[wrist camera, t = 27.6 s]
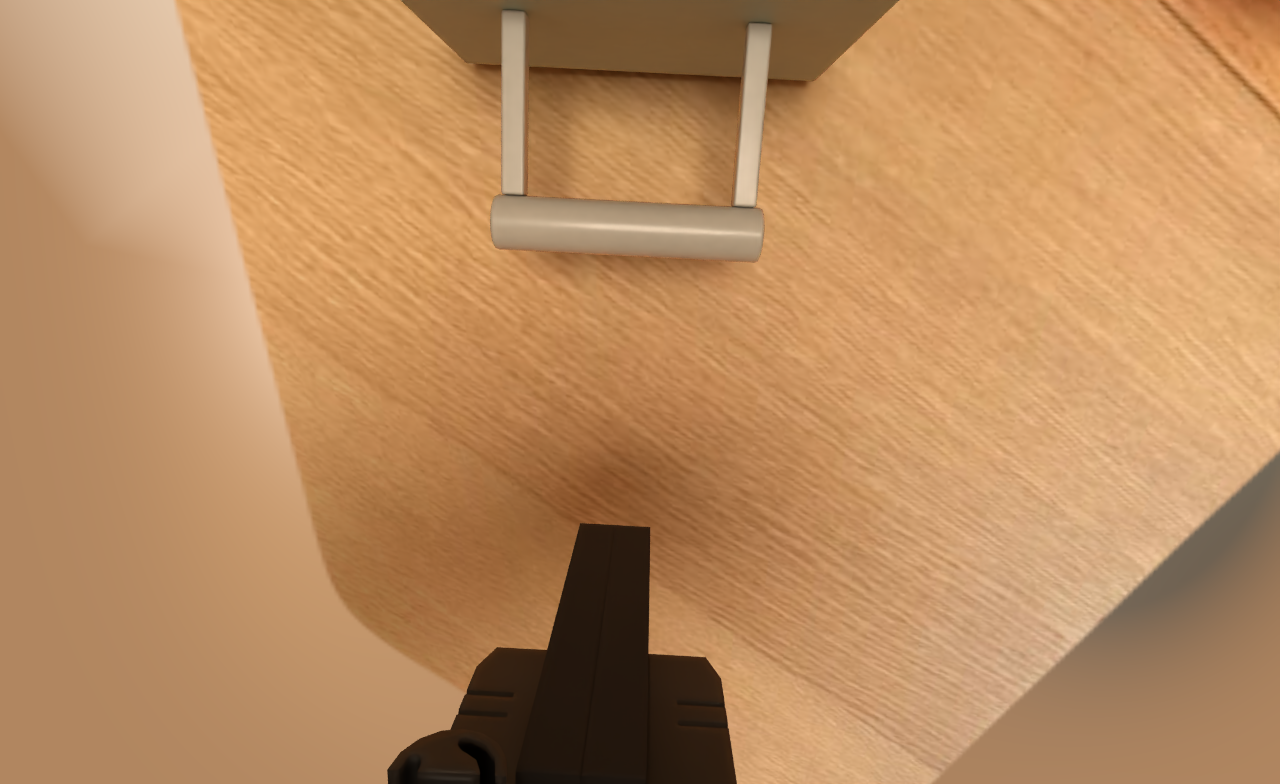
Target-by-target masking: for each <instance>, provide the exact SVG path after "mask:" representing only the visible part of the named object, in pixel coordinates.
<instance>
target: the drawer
mask: <svg viewBox="0 0 1280 784" xmlns="http://www.w3.org/2000/svg"><path fill="white" fill-rule="evenodd" d="M401 1H402V2H403V3H404V4H405V5H406V6H407V7H408V8H409V9H410V10H411V11H413V12H414V13H415V14H416V15H417V16H418V17H419V18H420V19H421V20H422V21H423V22H424V23H425V24H426V25H427V26H428V27H429V28H430V29H431V30H432V31H434V32H435V33H436V34H437V35H438V36H439V37H440V38H441V39H442V40H443V41H444V42H445V43H446V44H447V45H448V46H449V47H450V48H451V49H452V50H453V51H454V52H456V53H457V54H458V55H459V56H460V57H461V58H462V59H463V60H464V61H465V62H466V63H474V64H493V65H501V192H502V194H505V195H496V196H495V197H494V199H493V202H492V206H491V214H490V229H491V236H492V241H493V244H494V246H495V247H496V248H498V249H505V250H524V251H543V252H562V253H581V254H600V255H619V256H638V257H658V258H677V259H696V260H715V261H734V262H753V263H754V262H757V261H758V259H759V257H760V255H761V251H762V246H763V239H764V214H763V210H762V209H760V208H753V207H756V205H757V193H758V182H759V171H760V160H761V149H762V138H763V127H764V116H765V104H766V93H767V82H768V79H783V80H802V81H814V80H816V79H817V78H818V77H819V76H820V75H821V74H822V73H823V72H824V71H825V70H826V69H827V68H828V67H829V66H831V65H832V64H833V63H834V62H835V61H836V60H837V59H838V58H839V57H840V56H841V55H842V54H843V53H844V52H845V51H846V50H847V49H848V48H849V47H850V46H852V45H853V44H854V43H855V42H856V41H857V40H858V39H859V38H860V37H861V36H862V35H863V34H864V33H865V32H866V31H867V30H868V29H869V28H870V27H872V26H873V25H874V24H875V23H876V22H877V21H878V20H879V19H880V18H881V17H882V16H883V15H884V14H885V13H886V12H887V11H888V10H889V9H890V8H891V7H893V6H894V5H895V4H896V3H897V2H898V1H899V0H401ZM529 66H532V67H551V68H571V69H590V70H609V71H629V72H648V73H667V74H687V75H706V76H725V77H741V88H740V101H739V113H738V125H737V138H736V150H735V162H734V175H733V187H732V200H731V205H732V207H728V206H709V205H690V204H670V203H651V202H632V201H613V200H594V199H575V198H556V197H537V196H527V194H528V112H529Z"/></svg>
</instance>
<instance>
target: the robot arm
mask: <svg viewBox="0 0 1280 784" xmlns="http://www.w3.org/2000/svg"><path fill="white" fill-rule="evenodd" d="M649 575H650V527H637V526H620V525H602V524H584V523H580V526H579V530H578V534H577V538H576V541H575V545H574V549H573V553H572V557H571V561H570V565H569V568H568V572H567V576H566V580H565V584H564V588H563V591H562V595H561V599H560V603H559V607H558V611H557V614H556V618H555V622H554V626H553V630H552V634H551V637H550V641H549V645H548V649H547V650H535V649H518V648H501V647H497V648H496V649H495V650H494V651H493V652H492V653H491V654H489V655H488V656H487V657H486V658H485V659H484V660H483V661H482V662H481V663H480V664H479V665H478V666H477V667H476V669H475V672H474V674H473V677H472V679H471V681H470V684H469V686H468V689H467V694H466V695H465V696H464V698H463V701H462V703H461V706H460V708H459V713H458V715H456V718H455V720H454V723H453V725H452V727H451V730H446V731H440V732H437V733H434V734H431V735H429V736H426V737H423V738H421V739H419V740H417V741H416V742H414V743H413V744H412V745H410V746H409V747H407V748H406V749H404V750H403V751H402V752H400V754H399V755H398V756H397V758H396V759H395V760H394V762H393V763H392V764H391V766H390V767H389V768H388V770H387V771H388V784H737V782H736V775H735V769H734V762H733V755H732V749H731V742H730V735H729V729H728V722H727V715H726V709H725V702H724V695H723V689H722V682H721V678H720V677H719V675H718V674H717V672H716V671H715V670H714V668H713V667H712V666H711V664H710V663H709V661H708V660H707V659H706V657H691V656H674V655H657V654H648V640H649Z"/></svg>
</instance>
